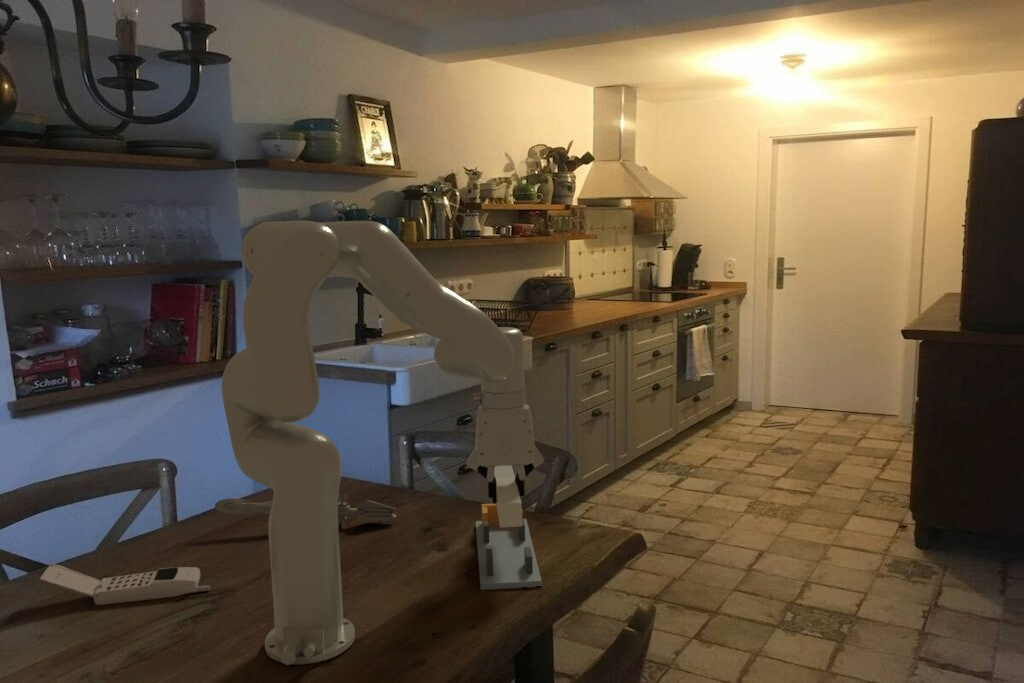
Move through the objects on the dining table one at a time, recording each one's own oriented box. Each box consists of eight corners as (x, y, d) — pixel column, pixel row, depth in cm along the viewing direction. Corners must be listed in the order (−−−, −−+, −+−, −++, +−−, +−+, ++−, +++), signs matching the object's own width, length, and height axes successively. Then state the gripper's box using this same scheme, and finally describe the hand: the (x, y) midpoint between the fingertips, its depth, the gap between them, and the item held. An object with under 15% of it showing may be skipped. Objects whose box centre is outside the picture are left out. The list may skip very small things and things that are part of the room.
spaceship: (221, 486, 163) (212, 483, 155) (397, 494, 167) (397, 491, 160) (216, 526, 161) (207, 526, 153) (394, 533, 165) (394, 533, 158)
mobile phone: (49, 563, 133) (211, 546, 138) (53, 597, 134) (213, 578, 139) (36, 579, 127) (206, 560, 132) (41, 615, 128) (209, 595, 133)
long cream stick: (522, 526, 133) (521, 502, 132) (500, 527, 132) (499, 503, 132) (512, 484, 154) (511, 463, 154) (493, 485, 154) (492, 464, 154)
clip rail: (541, 586, 133) (541, 557, 133) (480, 589, 133) (480, 560, 132) (526, 523, 161) (525, 499, 160) (475, 526, 160) (475, 501, 159)
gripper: (455, 406, 136) (459, 510, 139) (553, 402, 137) (555, 505, 140) (455, 396, 144) (459, 495, 147) (548, 392, 145) (550, 490, 148)
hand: (506, 499), depth 143 cm, fingers closed on long cream stick, 3 cm apart
